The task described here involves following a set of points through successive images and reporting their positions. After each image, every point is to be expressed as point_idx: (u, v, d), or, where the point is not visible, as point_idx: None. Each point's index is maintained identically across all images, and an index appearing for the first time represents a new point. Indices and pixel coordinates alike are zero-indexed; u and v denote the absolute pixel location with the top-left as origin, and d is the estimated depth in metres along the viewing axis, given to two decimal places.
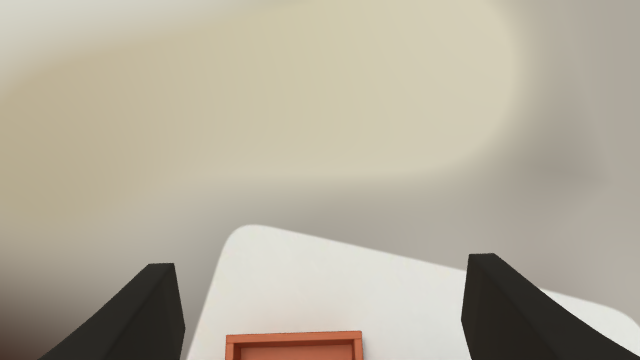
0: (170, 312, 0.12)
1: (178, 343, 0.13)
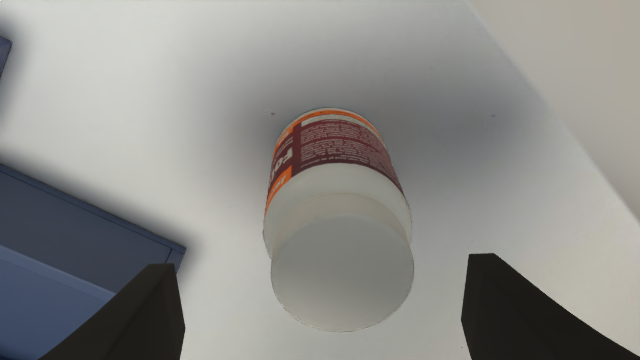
0: (170, 312, 0.12)
1: (178, 343, 0.13)
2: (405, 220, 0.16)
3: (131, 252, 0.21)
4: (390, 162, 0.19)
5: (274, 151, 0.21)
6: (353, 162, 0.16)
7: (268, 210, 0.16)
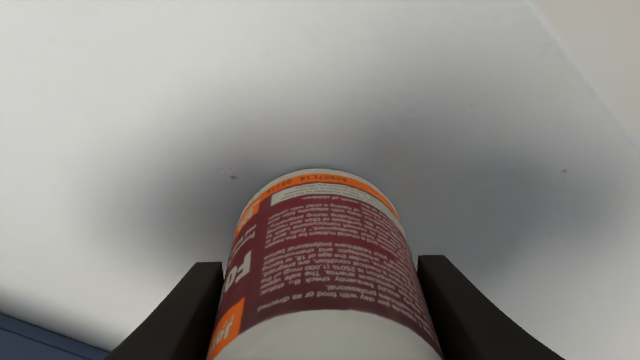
0: None
1: None
2: None
3: None
4: (411, 266, 0.12)
5: None
6: (349, 304, 0.09)
7: None
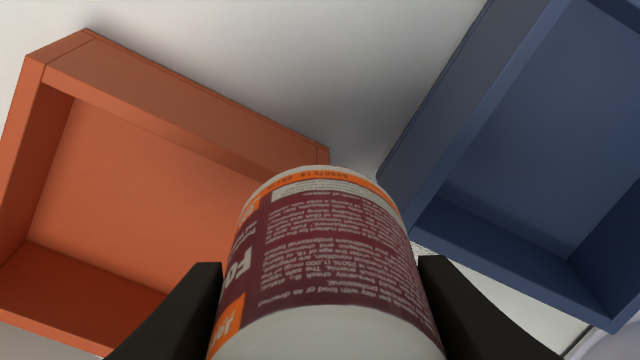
0: None
1: None
2: None
3: None
4: (412, 262, 0.12)
5: (235, 231, 0.14)
6: (350, 300, 0.09)
7: None
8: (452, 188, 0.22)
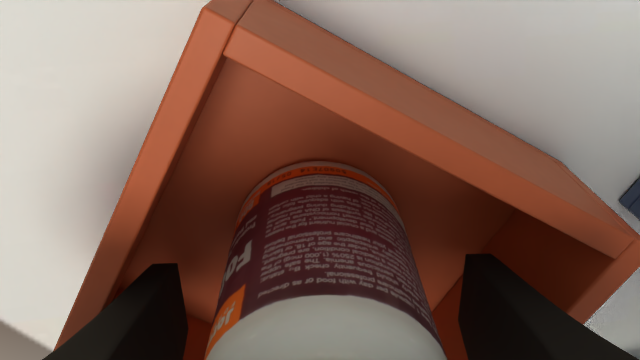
0: (173, 312, 0.12)
1: (181, 343, 0.13)
2: None
3: None
4: (410, 256, 0.12)
5: (235, 227, 0.14)
6: (348, 290, 0.09)
7: None
8: None
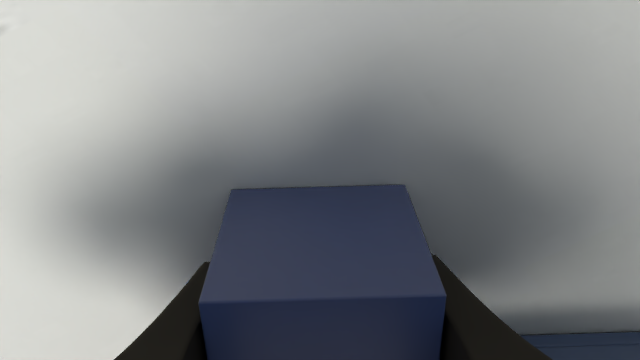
0: None
1: None
2: None
3: None
4: None
5: None
6: None
7: None
8: None
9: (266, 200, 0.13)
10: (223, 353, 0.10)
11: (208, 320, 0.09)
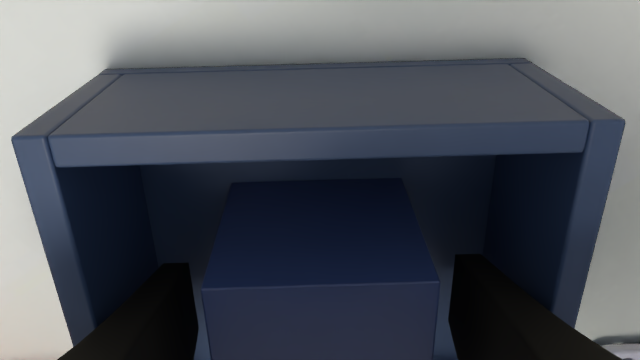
0: (185, 311, 0.12)
1: (192, 342, 0.13)
2: None
3: (464, 81, 0.11)
4: None
5: None
6: None
7: None
8: None
9: (266, 192, 0.13)
10: (224, 339, 0.10)
11: (210, 306, 0.10)
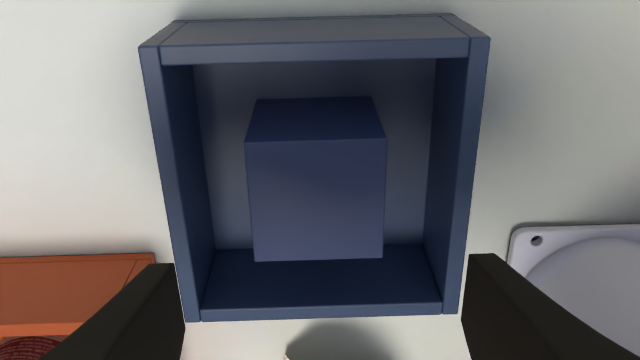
0: (170, 312, 0.12)
1: (178, 343, 0.13)
2: None
3: (406, 23, 0.17)
4: None
5: None
6: None
7: None
8: None
9: (280, 103, 0.19)
10: (257, 177, 0.16)
11: (249, 154, 0.16)
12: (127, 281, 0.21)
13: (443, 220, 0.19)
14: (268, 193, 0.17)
